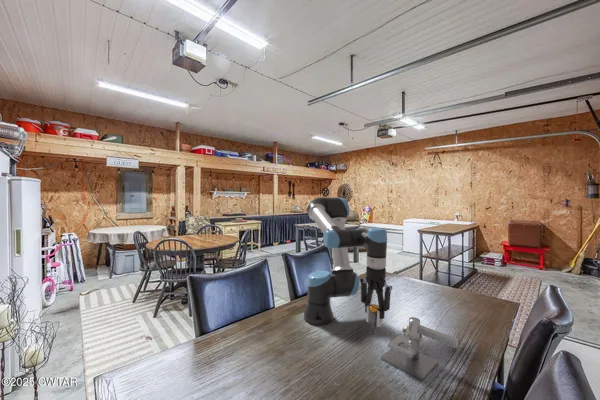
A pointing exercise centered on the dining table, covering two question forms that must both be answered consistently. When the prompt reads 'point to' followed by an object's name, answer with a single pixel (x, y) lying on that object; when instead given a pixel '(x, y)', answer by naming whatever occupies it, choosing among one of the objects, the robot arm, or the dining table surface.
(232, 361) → the dining table surface
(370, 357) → the dining table surface
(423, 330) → the grey lever mechanism
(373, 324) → the gold knobbed rod
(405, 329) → the pipe fitting
